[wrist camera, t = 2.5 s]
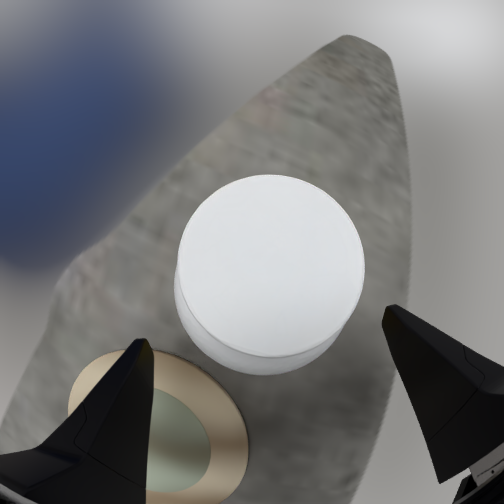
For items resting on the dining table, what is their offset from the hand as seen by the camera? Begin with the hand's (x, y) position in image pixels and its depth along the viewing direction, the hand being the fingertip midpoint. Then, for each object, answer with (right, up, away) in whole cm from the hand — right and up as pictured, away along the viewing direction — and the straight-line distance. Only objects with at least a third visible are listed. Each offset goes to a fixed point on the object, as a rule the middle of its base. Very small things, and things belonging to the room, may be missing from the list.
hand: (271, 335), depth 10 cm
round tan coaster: (-8, -11, +6) cm, 15 cm away
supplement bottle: (0, -1, +10) cm, 10 cm away
